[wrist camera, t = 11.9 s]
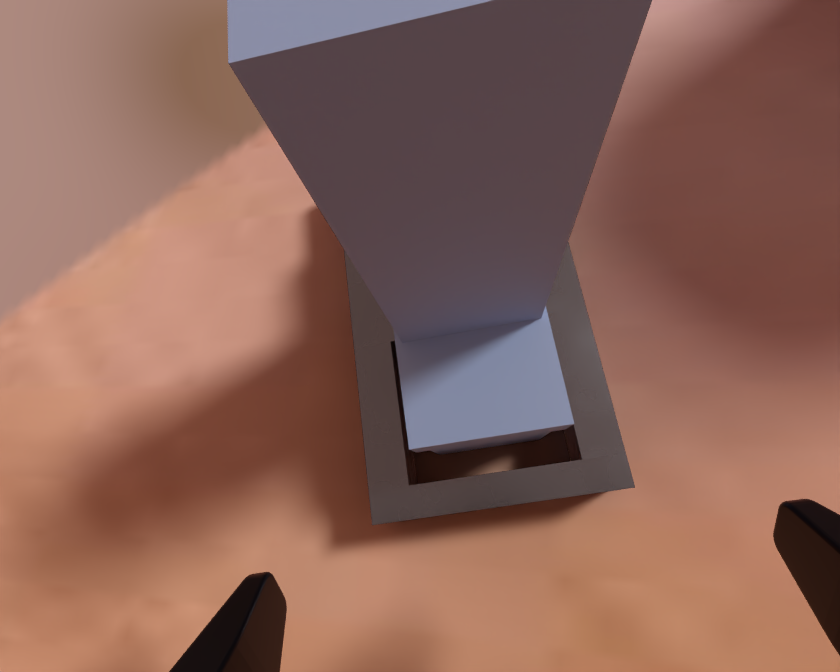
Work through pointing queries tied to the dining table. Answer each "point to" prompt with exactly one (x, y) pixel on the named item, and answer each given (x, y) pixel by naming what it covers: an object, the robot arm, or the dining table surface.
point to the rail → (406, 499)
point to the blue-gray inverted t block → (448, 177)
